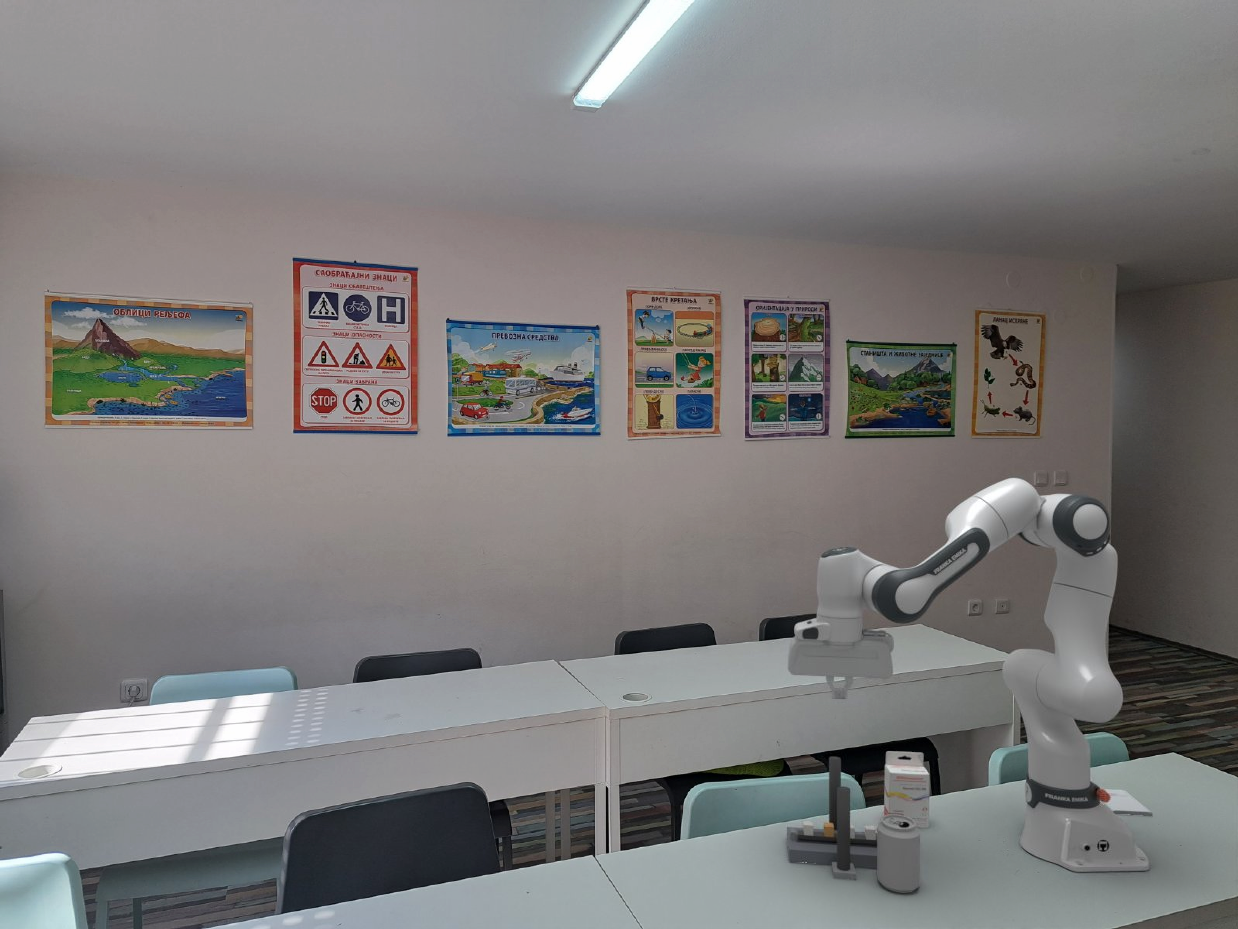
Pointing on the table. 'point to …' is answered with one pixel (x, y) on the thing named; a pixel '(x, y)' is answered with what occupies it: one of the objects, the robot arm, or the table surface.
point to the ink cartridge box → (907, 787)
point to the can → (898, 853)
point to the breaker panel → (828, 850)
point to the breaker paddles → (831, 836)
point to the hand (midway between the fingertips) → (839, 698)
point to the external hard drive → (1125, 803)
